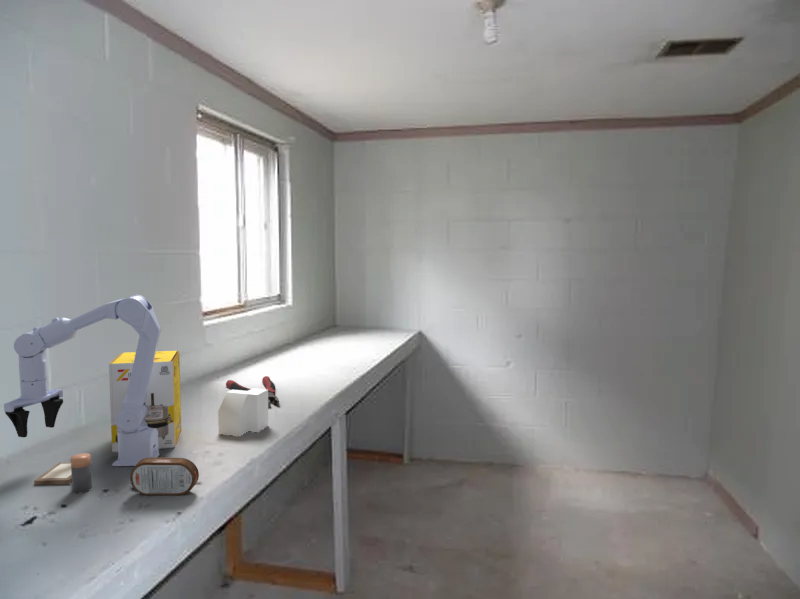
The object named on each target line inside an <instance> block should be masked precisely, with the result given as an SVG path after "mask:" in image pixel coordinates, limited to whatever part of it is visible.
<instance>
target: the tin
mask: <svg viewBox="0 0 800 599" xmlns="http://www.w3.org/2000/svg"><path fill="white" fill-rule="evenodd" d="M199 477H200V473H199V470H198V468H197V465H196V463H194V462H193V461H192V460H190V459H188V458H185V457H157V458H156V457H148V458H144V459H142V460H140V461H139V462H138V463H137V464H136V466H133V468H132V470H131V471H130V476H129V480H130V484H131V486H132V488H133V489H134V490H135V491H137V492H138V493H139V494H141V495H145V496H183V495H186V494H187V493H189V492H191V491H192V490H193V488H194V487H195V486H196V485H197V483H198V481H199Z"/></svg>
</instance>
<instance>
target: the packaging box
mask: <svg viewBox="0 0 800 599" xmlns="http://www.w3.org/2000/svg"><path fill="white" fill-rule="evenodd" d="M135 354H136V351H133V352H131V351H129V352H121V353H120V354H118V356H116V357H115V358H114V359H113V360H112V361H110V363H108V376H109V377H108V378H109V379H108V380H109V401H110V403H109V405H110V407H109V408H110V425H111V426H110V429H111V451H112V452H111V453H118V436H117V428H118V427H117V426H116V423H115V418H116V415H117V414H118V413H119V412H120V410H121V409H122V406H123V402H124V399H125V397H126V394H127V390H128V385H129V381H130V376H131V372H132V368H133V363H134V359H135ZM180 360H181V359H180V350H163V351H161V350H160V351H159V350H156V354H155V358H154V363H153V367H152V372H151V376H150V381H149V385H148V389H147V399H146V405H147V408H148V412H147V415H146V417H145V418H144V420H145V422H146V423H147V426H148V427H150V428H156V429H157V431H158V447H159V450H160V449H171V448H176V445H177V443H178V440H179V438H180V435H181V431H182V408H181V407H182V404H181V398H182V397H181V367H180V366H181V364H180Z"/></svg>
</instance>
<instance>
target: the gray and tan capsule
mask: <svg viewBox="0 0 800 599" xmlns="http://www.w3.org/2000/svg"><path fill="white" fill-rule="evenodd" d="M91 459H92V458H91V454H90V453H87V452H84V453H83V452H82V453H78V454H74V455H72V456H71V457H70V462H71V473H72V482H71V488H72V491H73V492H75V493H74V494H80V493H79V492H83V493H86V492H85V491H87V492H89V491H90V490H89V489H91V488H93V484H92V483H93V482H92V460H91ZM88 490H89V491H88ZM91 490H92V489H91ZM72 491H71V492H72ZM73 492H72V493H73Z"/></svg>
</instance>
